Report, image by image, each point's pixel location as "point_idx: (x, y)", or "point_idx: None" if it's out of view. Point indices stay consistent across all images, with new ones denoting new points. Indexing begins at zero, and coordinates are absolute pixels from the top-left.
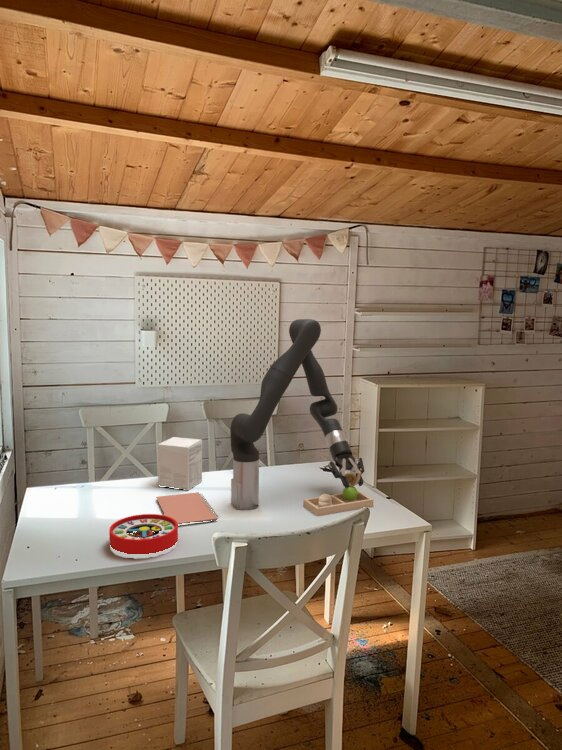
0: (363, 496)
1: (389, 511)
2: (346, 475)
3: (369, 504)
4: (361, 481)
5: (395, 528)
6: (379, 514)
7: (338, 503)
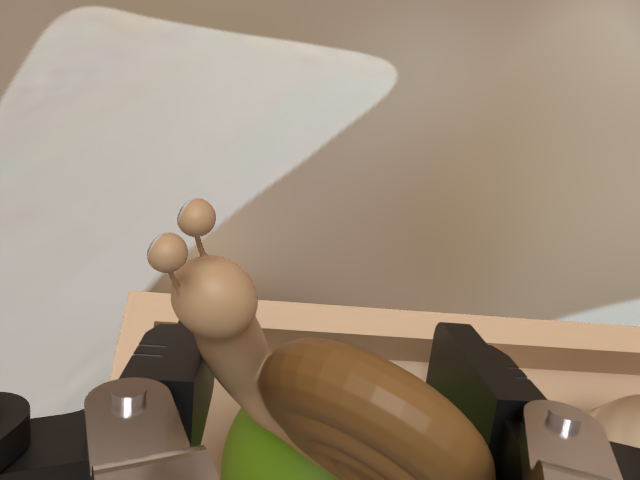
0: None
1: (66, 228)
2: (475, 428)
3: None
4: None
5: (263, 39)
6: None
7: None
